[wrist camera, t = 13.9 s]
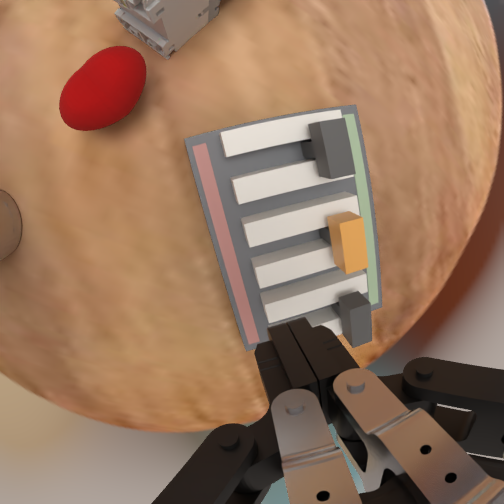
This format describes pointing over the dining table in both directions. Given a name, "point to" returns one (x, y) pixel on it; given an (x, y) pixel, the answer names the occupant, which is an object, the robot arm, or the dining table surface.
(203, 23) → the circuit breaker
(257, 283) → the breaker panel
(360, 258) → the handle
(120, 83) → the red plush heart
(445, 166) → the dining table surface
